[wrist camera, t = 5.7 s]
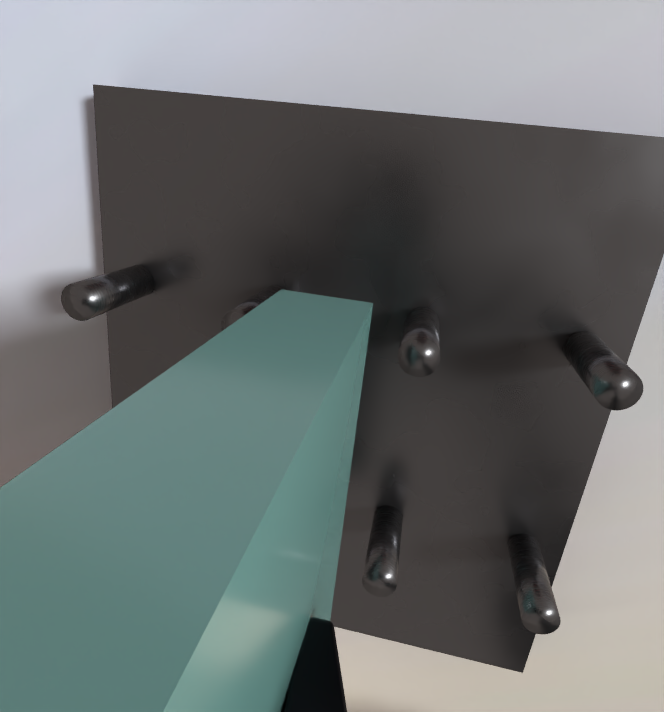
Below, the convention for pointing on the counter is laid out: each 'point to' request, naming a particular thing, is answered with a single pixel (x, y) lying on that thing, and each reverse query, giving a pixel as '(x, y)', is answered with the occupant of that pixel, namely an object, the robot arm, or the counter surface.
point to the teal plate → (188, 525)
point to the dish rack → (402, 321)
